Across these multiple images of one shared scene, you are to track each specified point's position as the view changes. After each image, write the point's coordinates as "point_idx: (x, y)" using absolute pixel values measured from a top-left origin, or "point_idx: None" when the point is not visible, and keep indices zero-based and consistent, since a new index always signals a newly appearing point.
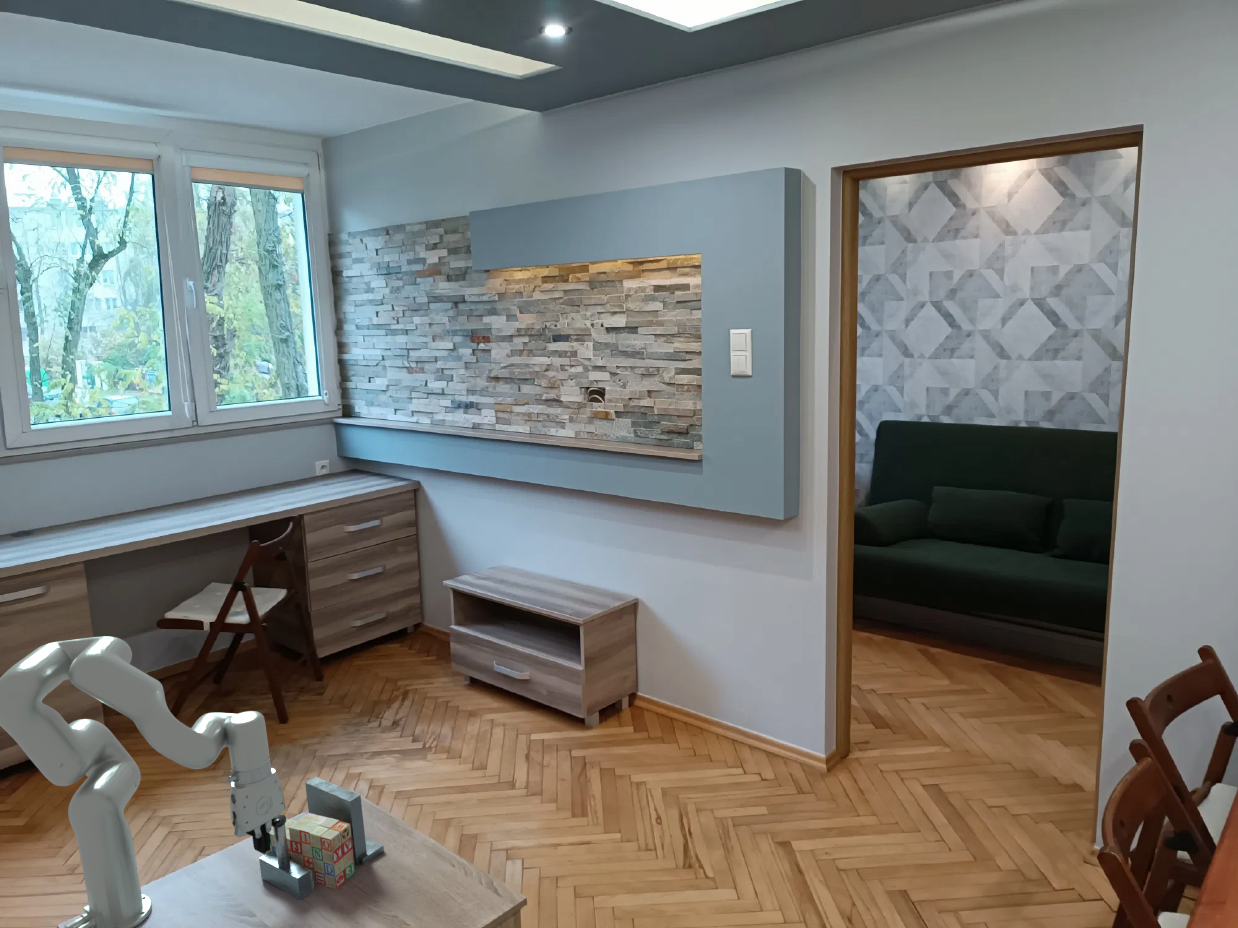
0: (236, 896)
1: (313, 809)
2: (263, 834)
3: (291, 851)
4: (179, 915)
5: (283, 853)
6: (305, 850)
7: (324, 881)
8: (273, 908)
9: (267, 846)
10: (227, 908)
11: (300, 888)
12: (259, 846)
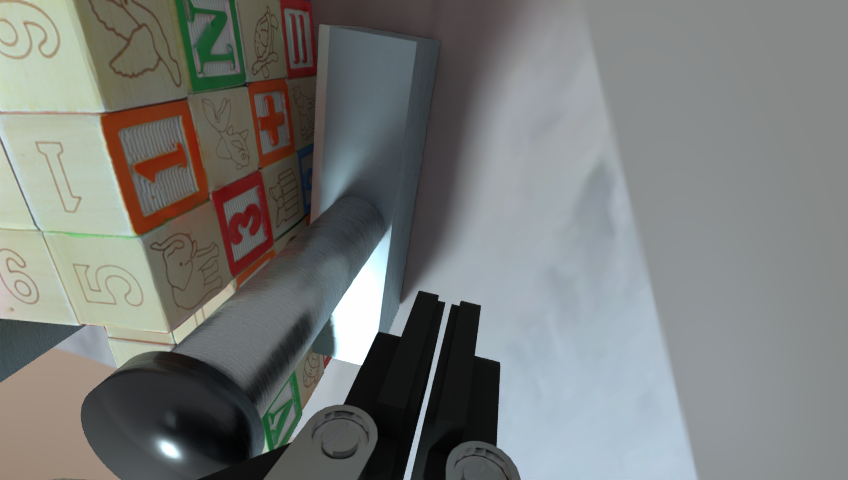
0: (516, 325)
1: (1, 334)
2: (408, 435)
3: (274, 247)
4: (668, 435)
5: (338, 235)
6: (236, 149)
7: (302, 6)
8: (532, 124)
9: (432, 319)
10: (588, 309)
11: (422, 39)
12: (482, 374)
